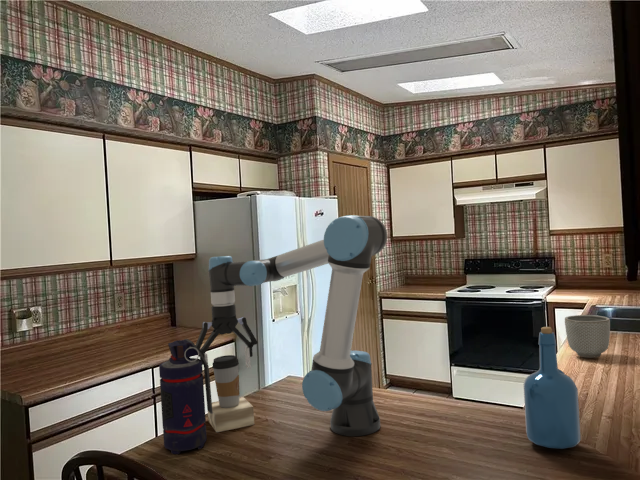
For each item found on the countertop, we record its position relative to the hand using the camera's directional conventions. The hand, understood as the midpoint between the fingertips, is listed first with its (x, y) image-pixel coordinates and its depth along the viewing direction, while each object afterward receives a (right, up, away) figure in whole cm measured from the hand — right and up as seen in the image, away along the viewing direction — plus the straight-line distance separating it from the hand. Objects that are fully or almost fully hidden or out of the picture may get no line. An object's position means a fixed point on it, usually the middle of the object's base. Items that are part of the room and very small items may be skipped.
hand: (227, 371), depth 164 cm
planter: (+145, -8, +57) cm, 156 cm away
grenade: (-8, -17, -17) cm, 25 cm away
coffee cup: (+1, -11, 0) cm, 11 cm away
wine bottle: (+91, -12, -28) cm, 96 cm away
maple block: (+1, -17, 0) cm, 17 cm away
